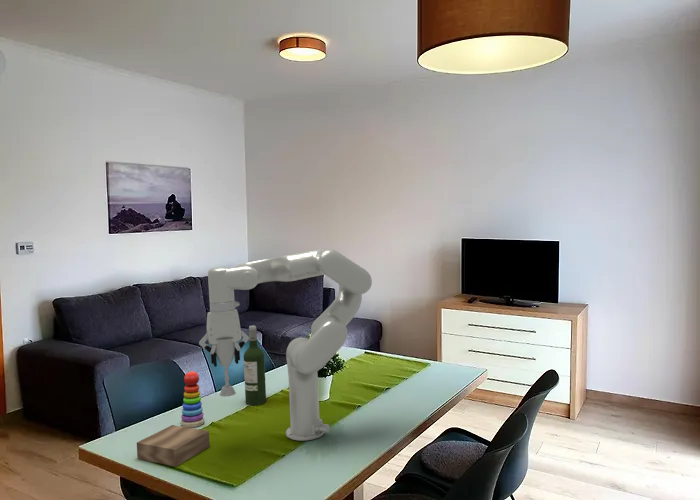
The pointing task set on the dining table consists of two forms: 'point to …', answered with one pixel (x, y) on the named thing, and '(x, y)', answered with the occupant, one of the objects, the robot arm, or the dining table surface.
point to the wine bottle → (254, 371)
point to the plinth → (173, 445)
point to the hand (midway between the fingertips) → (225, 363)
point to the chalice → (225, 363)
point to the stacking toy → (192, 402)
